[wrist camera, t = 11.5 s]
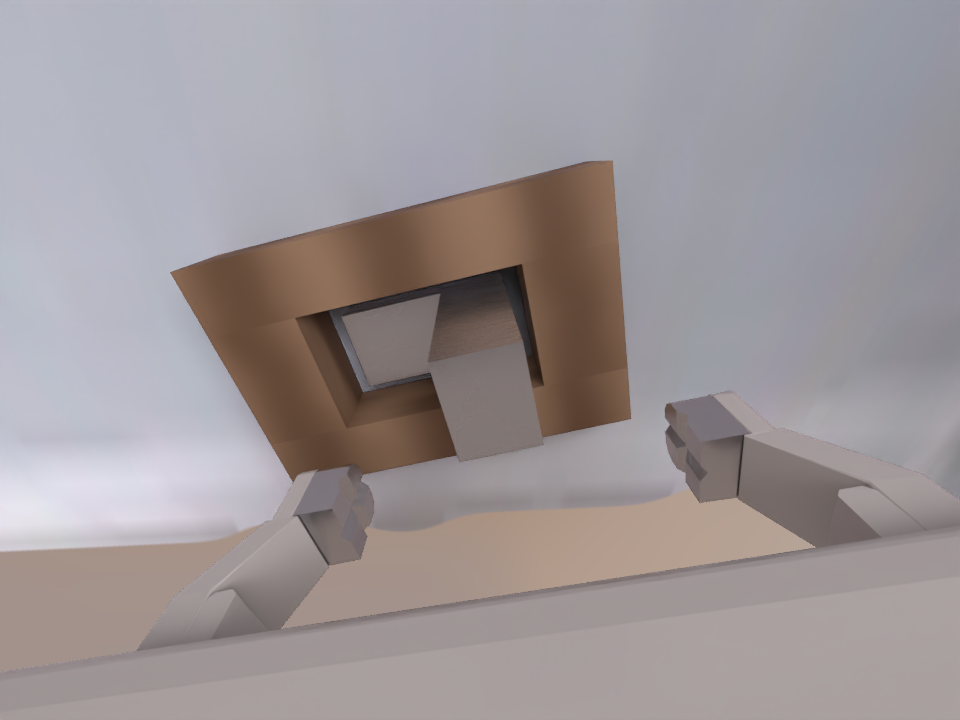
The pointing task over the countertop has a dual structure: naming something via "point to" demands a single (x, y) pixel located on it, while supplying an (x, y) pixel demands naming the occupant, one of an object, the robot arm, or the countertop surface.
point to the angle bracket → (455, 359)
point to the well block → (408, 266)
